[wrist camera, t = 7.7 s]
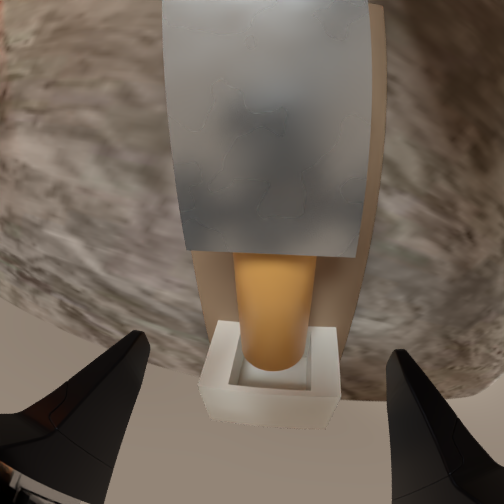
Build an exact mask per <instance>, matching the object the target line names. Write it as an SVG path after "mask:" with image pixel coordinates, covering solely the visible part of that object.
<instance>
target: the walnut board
mask: <svg viewBox="0 0 504 504" xmlns="http://www.w3.org/2000/svg"><path fill="white" fill-rule="evenodd" d="M368 7H369V18H370V32H371V51H372V111H371V133H370V148H369V160H368V171H367V181H366V189H365V198H364V206H363V213H362V220H361V227H360V233H359V239H358V245H357V251H356V256H355V258H349V257H326V256H317V258H316V268H315V277H314V285H313V294H312V302H311V309H310V317H309V324H308V326H313V327H336V331H337V342H338V354H339V363H340V360H341V357H342V353H343V350H344V347H345V344H346V341H347V337H348V334H349V330H350V327H351V323H352V320H353V316H354V313H355V309H356V305H357V301H358V297H359V293H360V289H361V285H362V281H363V277H364V272H365V268H366V263H367V258H368V253H369V248H370V243H371V238H372V233H373V227H374V221H375V215H376V209H377V202H378V195H379V188H380V180H381V171H382V162H383V152H384V140H385V125H386V103H387V55H386V35H385V21H384V10H383V6H382V5H377V4H371V3H368ZM191 253H192V258H193V264H194V269H195V275H196V280H197V285H198V290H199V295H200V300H201V305H202V310H203V315H204V320H205V324H206V329H207V334H208V338H209V342H210V344H211V341H212V338H213V335H214V332H215V328H216V325H217V322H218V320H222V321H233V322H239V314H238V303H237V293H236V282H235V271H234V260H233V252H213V251H191Z"/></svg>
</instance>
